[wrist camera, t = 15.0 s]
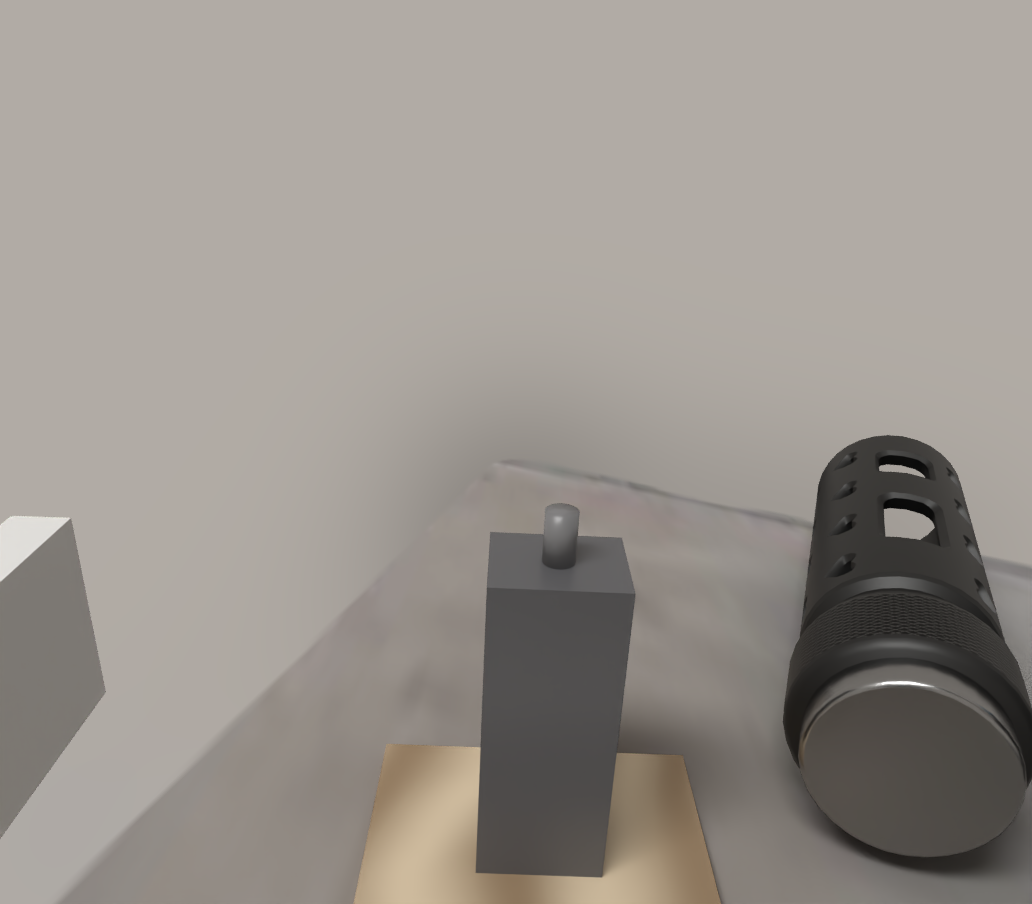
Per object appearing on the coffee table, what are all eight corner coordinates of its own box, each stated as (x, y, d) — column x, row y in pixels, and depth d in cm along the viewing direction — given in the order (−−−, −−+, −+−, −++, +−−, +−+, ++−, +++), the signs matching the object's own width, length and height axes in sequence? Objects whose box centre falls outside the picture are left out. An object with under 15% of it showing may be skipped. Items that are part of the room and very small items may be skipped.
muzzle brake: (944, 584, 57) (983, 444, 53) (1006, 921, 33) (1086, 708, 29) (799, 554, 60) (827, 419, 56) (757, 841, 36) (800, 639, 32)
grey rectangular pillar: (593, 800, 37) (626, 490, 31) (602, 877, 33) (641, 541, 27) (479, 796, 37) (492, 484, 31) (475, 872, 33) (489, 534, 27)
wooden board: (681, 763, 40) (682, 755, 40) (731, 961, 30) (733, 951, 30) (386, 752, 40) (386, 744, 39) (346, 947, 30) (346, 938, 30)
